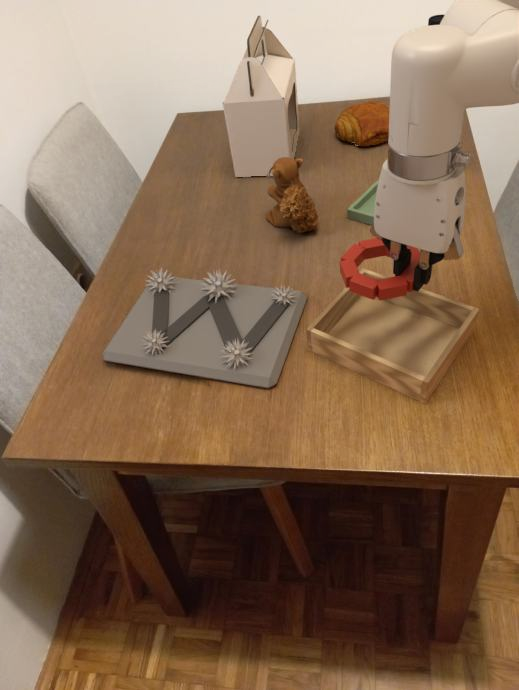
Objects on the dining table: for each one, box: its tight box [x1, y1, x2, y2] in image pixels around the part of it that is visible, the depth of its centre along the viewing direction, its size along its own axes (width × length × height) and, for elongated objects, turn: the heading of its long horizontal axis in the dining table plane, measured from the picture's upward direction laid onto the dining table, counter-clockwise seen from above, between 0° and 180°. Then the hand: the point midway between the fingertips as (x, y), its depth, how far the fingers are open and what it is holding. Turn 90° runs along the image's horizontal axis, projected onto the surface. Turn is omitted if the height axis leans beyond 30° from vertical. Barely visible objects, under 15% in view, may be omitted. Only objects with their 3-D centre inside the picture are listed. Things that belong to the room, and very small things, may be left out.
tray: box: [346, 178, 379, 226], centre depth 106 cm, size 16×16×2 cm
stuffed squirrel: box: [264, 157, 320, 234], centre depth 103 cm, size 10×14×13 cm
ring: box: [339, 237, 420, 300], centre depth 73 cm, size 11×11×2 cm
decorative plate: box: [101, 267, 308, 389], centre depth 87 cm, size 30×22×7 cm
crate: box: [305, 267, 480, 404], centre depth 80 cm, size 20×17×5 cm
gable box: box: [222, 15, 301, 178], centre depth 119 cm, size 22×13×28 cm, turn 172°
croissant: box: [334, 100, 390, 147], centre depth 127 cm, size 14×16×8 cm
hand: (411, 281), depth 71 cm, fingers closed on ring, 2 cm apart
